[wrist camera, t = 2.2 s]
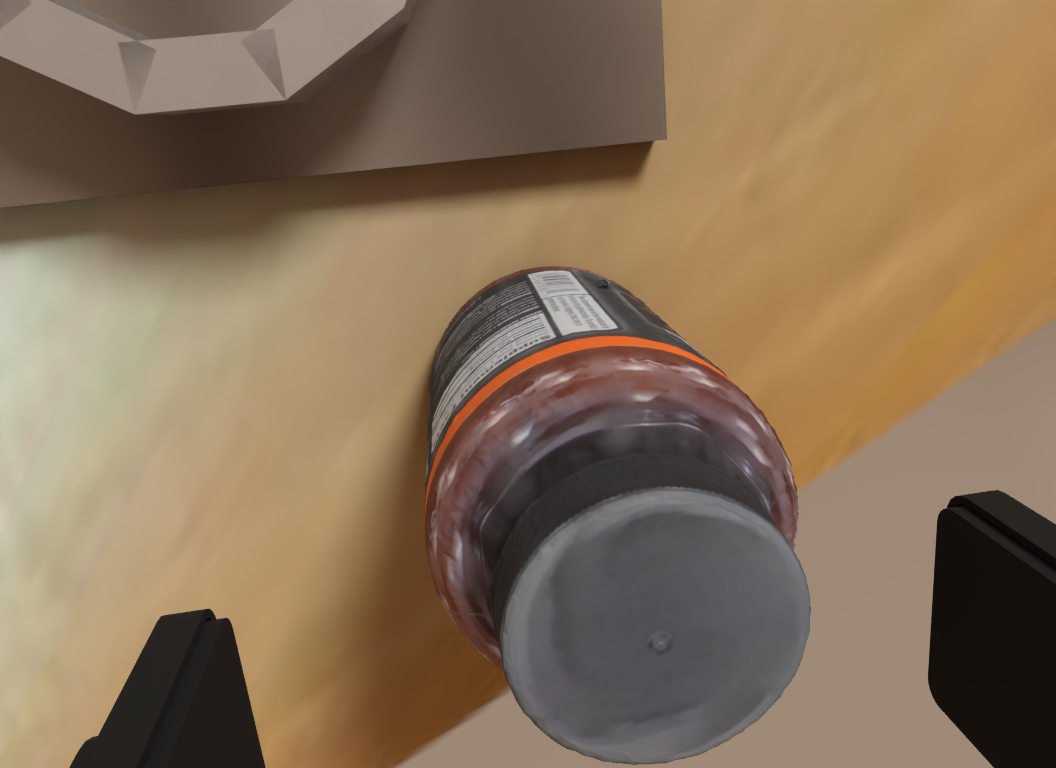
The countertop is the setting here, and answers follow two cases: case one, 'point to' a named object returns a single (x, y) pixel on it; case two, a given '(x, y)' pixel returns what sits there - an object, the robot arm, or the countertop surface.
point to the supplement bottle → (610, 520)
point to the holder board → (351, 100)
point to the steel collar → (198, 54)
